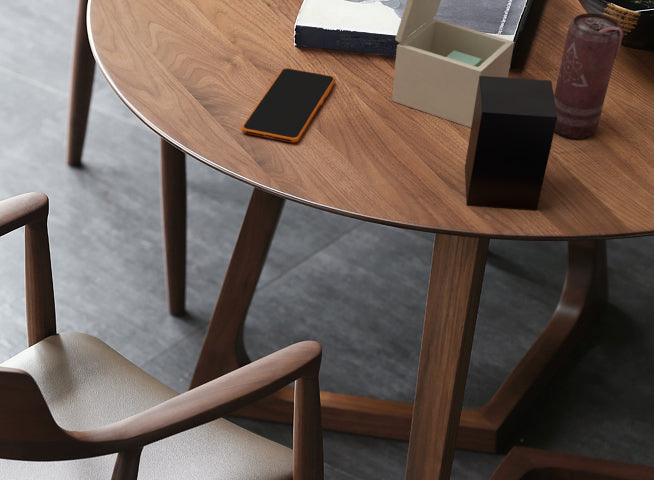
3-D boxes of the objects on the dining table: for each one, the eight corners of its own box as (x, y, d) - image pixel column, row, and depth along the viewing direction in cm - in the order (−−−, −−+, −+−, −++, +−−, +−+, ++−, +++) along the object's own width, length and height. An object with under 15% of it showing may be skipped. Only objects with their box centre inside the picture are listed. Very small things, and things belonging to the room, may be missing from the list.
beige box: (504, 97, 141) (514, 41, 136) (471, 128, 135) (481, 71, 130) (426, 72, 146) (433, 17, 140) (391, 101, 140) (397, 45, 134)
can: (595, 144, 133) (622, 38, 124) (544, 134, 135) (567, 28, 125) (601, 120, 137) (628, 16, 128) (551, 111, 139) (574, 7, 129)
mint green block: (476, 94, 140) (482, 58, 137) (462, 106, 138) (468, 71, 134) (448, 85, 142) (453, 50, 138) (434, 97, 139) (439, 62, 136)
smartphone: (239, 133, 133) (239, 127, 132) (283, 72, 144) (283, 66, 144) (298, 145, 131) (298, 138, 131) (337, 82, 143) (337, 76, 142)
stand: (532, 172, 128) (551, 80, 120) (537, 210, 122) (557, 117, 114) (464, 167, 129) (479, 75, 120) (466, 205, 123) (482, 111, 115)
